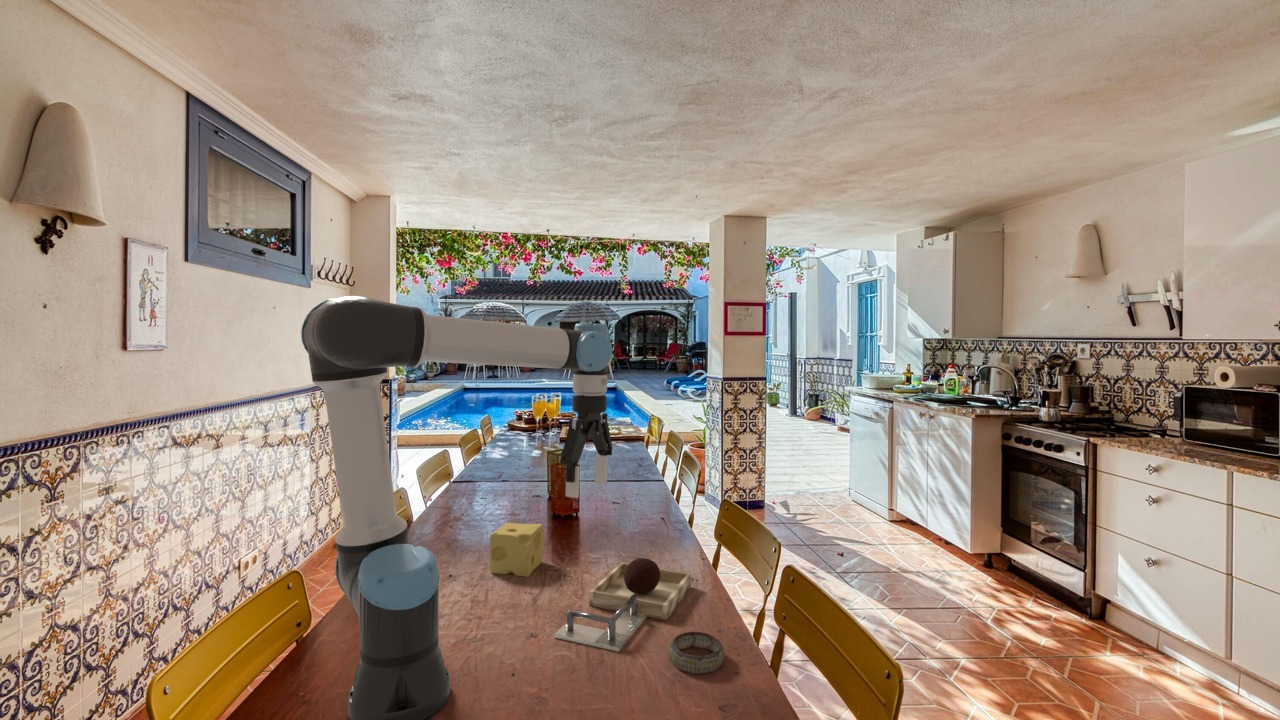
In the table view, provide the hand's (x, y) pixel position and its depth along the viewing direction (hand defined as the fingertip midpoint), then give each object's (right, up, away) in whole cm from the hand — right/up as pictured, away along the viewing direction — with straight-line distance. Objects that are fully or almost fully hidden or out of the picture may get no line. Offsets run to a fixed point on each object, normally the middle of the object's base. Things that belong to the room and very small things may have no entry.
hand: (587, 490), depth 131 cm
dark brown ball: (+12, -24, +3) cm, 27 cm away
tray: (+12, -24, +3) cm, 27 cm away
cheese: (-19, -24, +18) cm, 36 cm away
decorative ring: (+22, -26, -23) cm, 41 cm away
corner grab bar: (+4, -25, -11) cm, 28 cm away
